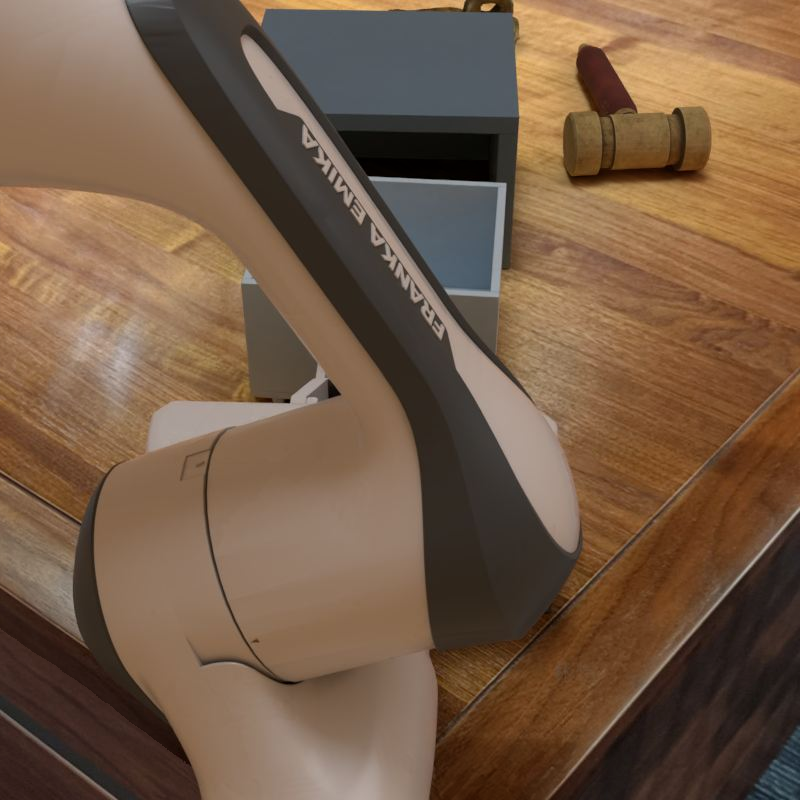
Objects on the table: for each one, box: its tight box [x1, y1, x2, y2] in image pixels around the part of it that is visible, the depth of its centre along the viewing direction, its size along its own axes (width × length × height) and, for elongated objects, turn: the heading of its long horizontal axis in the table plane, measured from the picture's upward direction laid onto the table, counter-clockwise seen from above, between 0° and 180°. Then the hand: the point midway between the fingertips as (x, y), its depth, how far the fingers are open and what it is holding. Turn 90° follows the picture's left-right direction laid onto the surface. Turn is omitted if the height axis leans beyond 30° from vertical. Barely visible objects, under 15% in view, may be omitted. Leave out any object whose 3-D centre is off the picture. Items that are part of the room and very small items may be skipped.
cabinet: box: [260, 8, 520, 270], centre depth 93 cm, size 17×16×11 cm
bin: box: [240, 175, 507, 403], centre depth 78 cm, size 14×17×9 cm
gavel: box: [562, 42, 713, 177], centre depth 106 cm, size 21×5×10 cm
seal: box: [387, 0, 520, 42], centre depth 116 cm, size 9×5×15 cm
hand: (361, 371), depth 72 cm, fingers closed on bin
